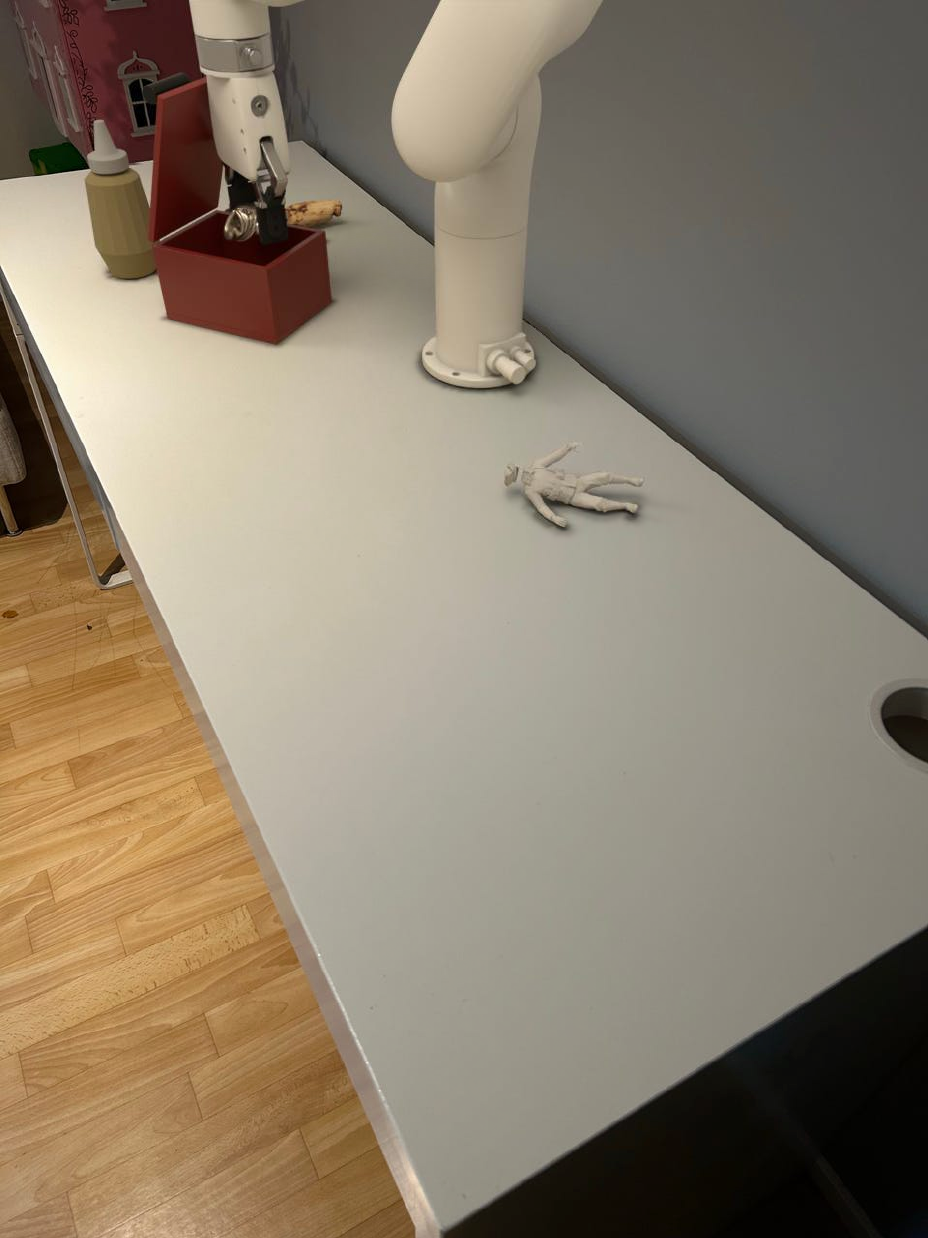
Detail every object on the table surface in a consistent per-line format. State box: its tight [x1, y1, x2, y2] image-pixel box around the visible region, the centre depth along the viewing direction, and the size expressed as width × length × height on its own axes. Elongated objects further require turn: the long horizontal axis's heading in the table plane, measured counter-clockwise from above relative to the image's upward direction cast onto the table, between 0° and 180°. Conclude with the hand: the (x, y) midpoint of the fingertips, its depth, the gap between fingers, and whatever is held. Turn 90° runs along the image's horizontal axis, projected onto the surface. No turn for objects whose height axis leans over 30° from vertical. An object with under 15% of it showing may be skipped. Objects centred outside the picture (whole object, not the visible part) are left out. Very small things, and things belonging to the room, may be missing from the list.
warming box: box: [152, 209, 333, 346], centre depth 112 cm, size 16×13×9 cm
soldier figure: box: [503, 441, 645, 528], centre depth 85 cm, size 8×5×12 cm
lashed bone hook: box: [224, 199, 343, 228], centre depth 130 cm, size 9×5×18 cm
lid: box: [141, 72, 224, 243], centre depth 105 cm, size 16×13×5 cm
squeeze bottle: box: [84, 119, 161, 279], centre depth 117 cm, size 8×8×18 cm
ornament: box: [224, 202, 289, 242], centre depth 106 cm, size 8×7×4 cm
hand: (260, 229), depth 107 cm, fingers closed on ornament, 6 cm apart
